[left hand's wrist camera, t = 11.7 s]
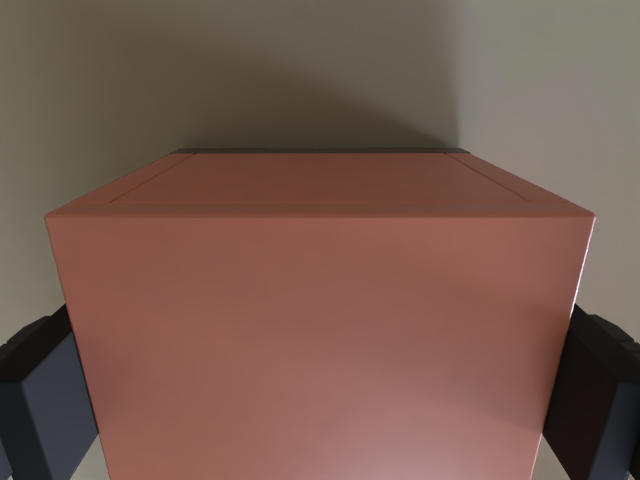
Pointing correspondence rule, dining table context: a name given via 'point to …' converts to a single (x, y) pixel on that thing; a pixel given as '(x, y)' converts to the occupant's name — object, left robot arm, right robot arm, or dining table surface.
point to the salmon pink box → (320, 313)
